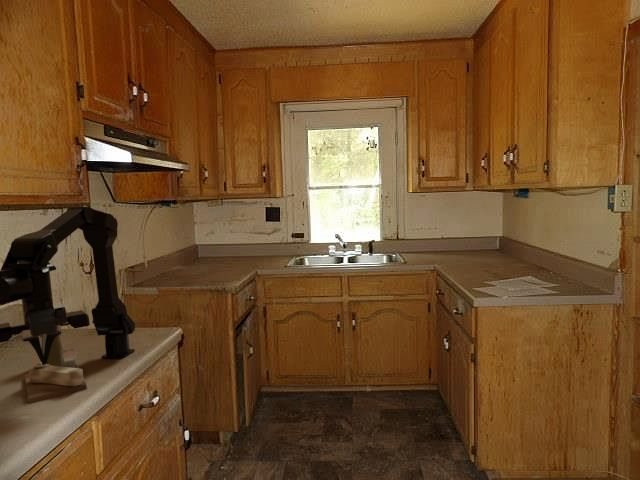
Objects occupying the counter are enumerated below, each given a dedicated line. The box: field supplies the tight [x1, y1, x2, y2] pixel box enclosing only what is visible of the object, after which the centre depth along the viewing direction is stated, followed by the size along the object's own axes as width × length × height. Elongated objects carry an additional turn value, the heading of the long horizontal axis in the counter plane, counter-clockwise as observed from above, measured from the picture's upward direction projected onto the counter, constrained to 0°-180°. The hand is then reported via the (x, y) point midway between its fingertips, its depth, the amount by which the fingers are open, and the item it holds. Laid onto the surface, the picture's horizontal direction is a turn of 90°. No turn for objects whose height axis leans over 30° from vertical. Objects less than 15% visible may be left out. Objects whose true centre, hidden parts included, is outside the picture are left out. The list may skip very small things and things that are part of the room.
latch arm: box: [28, 364, 85, 386], centre depth 110 cm, size 15×4×3 cm, turn 71°
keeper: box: [32, 347, 79, 368], centre depth 116 cm, size 9×8×6 cm
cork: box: [39, 328, 64, 367], centre depth 126 cm, size 6×6×11 cm
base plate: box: [24, 363, 88, 403], centre depth 113 cm, size 18×12×1 cm, turn 34°
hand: (44, 364), depth 103 cm, fingers closed
